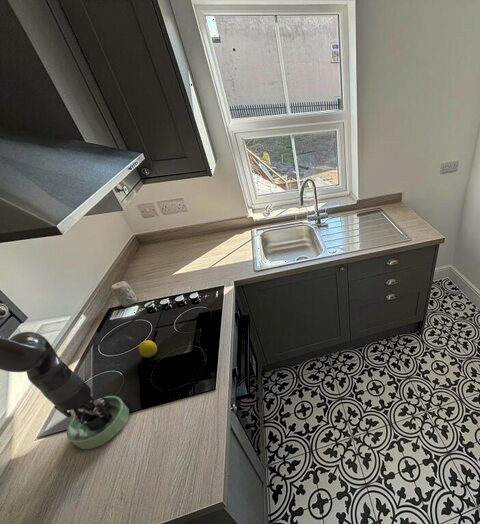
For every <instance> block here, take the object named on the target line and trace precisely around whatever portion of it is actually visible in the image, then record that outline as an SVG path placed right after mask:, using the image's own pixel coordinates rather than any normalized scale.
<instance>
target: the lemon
mask: <svg viewBox="0 0 480 524" xmlns="http://www.w3.org/2000/svg"><path fill="white" fill-rule="evenodd" d="M138 351H139V354H140V355H141V356H142V357H144V358H151V357H153V356H155V355H156V354H157V352H158V346H157V344H156V343H155V342H154V341H153V340H150V339H148V340H144V341H142V342H140V344H139V345H138Z"/></svg>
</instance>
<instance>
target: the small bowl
mask: <svg viewBox="0 0 480 524" xmlns="http://www.w3.org/2000/svg"><path fill="white" fill-rule="evenodd" d="M95 408H96V405H95V406H94V408H93V409H92V410H91V411H93V410H94V409H95ZM98 412H99V413H101V412H100V410H98ZM109 413H110V412H109ZM110 414H111V413H110ZM80 423H81V424H82V425H83V426H84V427H85V428H86V429H88V430H89V431H95V430H98V429H100V428H102V427H103V426H104V425H106V424H107V423H105V422H104V421H103V420H102V419H101V418H100V417H98V416H96V415H90V414H88V413H85V412H84V413H83V414H82V416H81V417H80Z"/></svg>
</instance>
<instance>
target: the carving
mask: <svg viewBox="0 0 480 524" xmlns="http://www.w3.org/2000/svg"><path fill="white" fill-rule="evenodd" d="M110 289H111V291H112V293H113V294H114V296H115V298H116V300H117V302H118V303H119V304H120V305H121V306H122V307H124V308H126V307H130V306H132V305H134V304H135V303H136V302H137V296H136V294H135V293H134V291H133V289H132V287H131V286H130V284H129V283H128V282H127V281H125V280H123V281H122V280H121V281H118V282H116V283H114V284H112V285H111V287H110Z"/></svg>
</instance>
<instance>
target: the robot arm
mask: <svg viewBox="0 0 480 524" xmlns="http://www.w3.org/2000/svg"><path fill="white" fill-rule="evenodd" d="M0 370H1V371H6V372H10V373H26V376H27V379H28V381H29V382H30V383H31V384H32V385H33V386H34V387H35V388H36V389H37V390H39V391H40V392H41V394H42V395H43V396H44V397H45V398H46V399H47V400H48V401H49V402H50V403H51V404H53V408H54V409H55V410H56V411H58V412H59V413H61V414H62V415H63V416H64V417H66V418H71V417H72V418H78V419H79V420H80V417H81V416H82V414H83V413H84V412H85V413H88V414H90V415H96V416H98V417H100V418H101V419H102V420H103V421H104V422H105V423H109V421H110V420H111V418H112V415H111V414H110V413H109V412H110V411H111V410H112V408H113V407H112V406H111V404H110V403H109V402H108V400H107V399H106V398H104V397H105V396H104V397H101V398H102V399H101V400H97V399H96V398H95V397H93V395H92V388H91V387H90V385H88V384H87V383H86V382H85V381H84V380H83V379H82V378H81V376H79V374H77V373H76V372H75V371H73V370H72V369H71V367H69V366H68V365H67V364H66V363H65V362H64V361H63V360H61V358H60V357H59V355H58V354H57V352H56V350H55V349H54V347H53V346H52V344H51V342H49V340H48V339H47V338H46V337H45V336H43V334H40V333H37V332H34V331H23V332H19V333H16V334H14V335H13V336H11V337H10V338H7V337H5V336H4V335H3V334H2V332H1V331H0ZM95 405H96V408H95V409H94V410H93V411H91V410H92V409H93V408H94V406H95ZM98 410H100V412H101V413H99V412H98Z"/></svg>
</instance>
